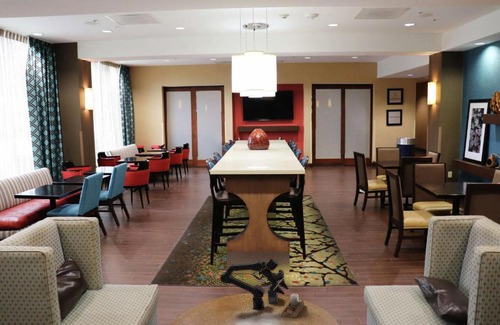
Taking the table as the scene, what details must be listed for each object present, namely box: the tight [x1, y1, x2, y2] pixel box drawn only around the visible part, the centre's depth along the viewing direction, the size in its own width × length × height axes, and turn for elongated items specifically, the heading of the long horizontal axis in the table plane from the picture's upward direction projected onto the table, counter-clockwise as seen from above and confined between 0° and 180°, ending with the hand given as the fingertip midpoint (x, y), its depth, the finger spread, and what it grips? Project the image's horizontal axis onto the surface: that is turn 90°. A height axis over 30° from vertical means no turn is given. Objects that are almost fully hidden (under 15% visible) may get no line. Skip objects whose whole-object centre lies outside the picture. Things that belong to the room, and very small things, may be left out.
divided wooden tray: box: [281, 299, 305, 318], centre depth 294 cm, size 10×19×5 cm, turn 159°
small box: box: [267, 284, 279, 305], centre depth 315 cm, size 11×6×10 cm, turn 174°
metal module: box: [289, 293, 300, 307], centre depth 298 cm, size 4×4×9 cm
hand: (286, 291), depth 300 cm, fingers open, 9 cm apart
